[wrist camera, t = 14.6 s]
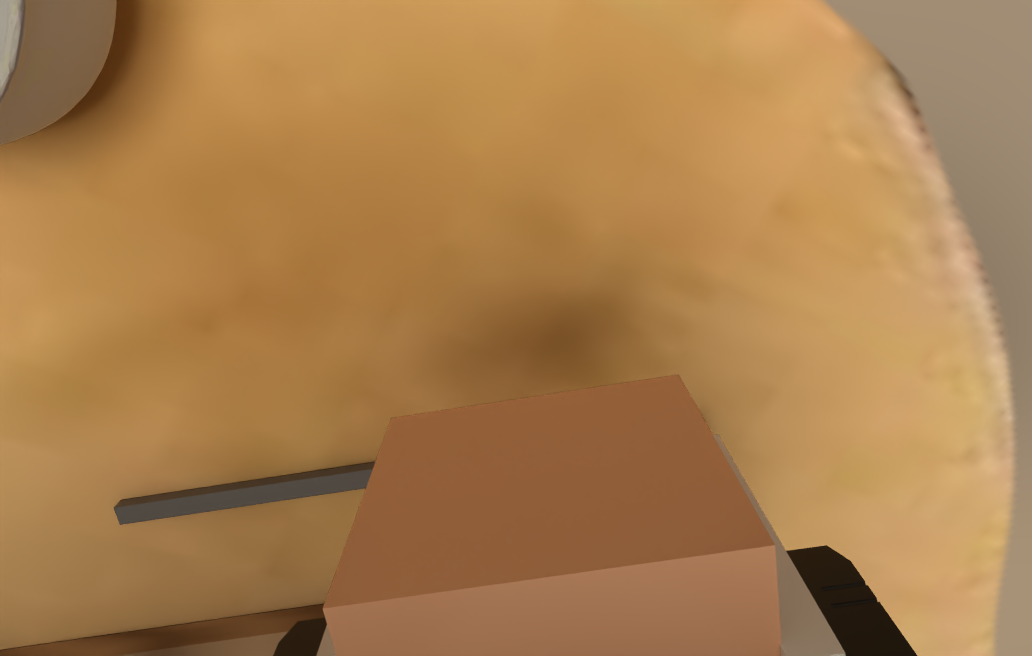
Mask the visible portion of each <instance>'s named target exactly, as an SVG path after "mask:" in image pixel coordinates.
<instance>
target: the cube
mask: <svg viewBox="0 0 1032 656" xmlns="http://www.w3.org/2000/svg"><path fill="white" fill-rule="evenodd" d="M323 612H324V615H325V619H326V622H327V626H328V629H329V633H330V636H331V639H332V643H333V646H334V650H335V653H336V656H781V651H780V644H782V641H781V626H780V611H779V595H778V580H777V565H776V549H775V544H774V542H773V540H772V539H771V537H770V535H769V533H768V532H767V530H766V528H765V526H764V524H763V523H762V521H761V519H760V517H759V516H758V514H757V512H756V510H755V509H754V507H753V505H752V503H751V502H750V500H749V498H748V496H747V494H746V493H745V491H744V489H743V487H742V486H741V484H740V482H739V480H738V479H737V477H736V475H735V473H734V472H733V470H732V468H731V466H730V464H729V463H728V461H727V459H726V457H725V456H724V454H723V452H722V450H721V449H720V447H719V445H718V443H717V442H716V440H715V438H714V436H713V434H712V433H711V431H710V429H709V427H708V426H707V424H706V422H705V420H704V419H703V417H702V415H701V413H700V412H699V410H698V408H697V406H696V404H695V403H694V401H693V399H692V397H691V396H690V394H689V392H688V390H687V389H686V387H685V385H684V383H683V382H682V380H681V378H680V376H679V375H672V376H666V377H659V378H652V379H646V380H639V381H632V382H626V383H619V384H613V385H606V386H599V387H593V388H586V389H580V390H573V391H566V392H560V393H553V394H547V395H540V396H533V397H527V398H520V399H513V400H507V401H500V402H494V403H487V404H480V405H474V406H467V407H461V408H454V409H447V410H441V411H434V412H427V413H421V414H414V415H408V416H401V417H394V418H391V420H390V423H389V426H388V428H387V431H386V434H385V437H384V439H383V442H382V445H381V448H380V451H379V453H378V456H377V459H376V462H375V464H374V467H373V470H372V473H371V476H370V478H369V481H368V484H367V487H366V489H365V492H364V495H363V498H362V501H361V503H360V506H359V509H358V512H357V514H356V517H355V520H354V523H353V526H352V528H351V531H350V534H349V537H348V540H347V542H346V545H345V548H344V551H343V553H342V556H341V559H340V562H339V565H338V567H337V570H336V573H335V576H334V578H333V581H332V584H331V587H330V590H329V592H328V595H327V598H326V601H325V603H324V606H323Z"/></svg>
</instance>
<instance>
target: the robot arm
mask: <svg viewBox="0 0 1032 656" xmlns="http://www.w3.org/2000/svg"><path fill="white" fill-rule="evenodd" d="M713 436H714V438H715V440H716V442H717V443H718V445H719V447H720V449H721V450H722V452H723V454H724V456H725V457H726V459H727V461H728V463H729V464H730V466H731V468H732V470H733V472H734V473H735V475H736V477H737V479H738V480H739V482H740V484H741V486H742V487H743V489H744V491H745V493H746V494H747V496H748V498H749V500H750V502H751V503H752V505H753V507H754V509H755V510H756V512H757V514H758V516H759V517H760V519H761V521H762V523H763V524H764V526H765V528H766V530H767V532H768V533H769V535H770V537H771V539H772V540H773V542H774V544H775V549H776V565H777V580H778V595H779V611H780V626H781V641H782V644H780V651H781V656H917V655H916V653H915V652H914V650H913V649H912V647H911V646H910V645H909V643H908V642H907V640H906V639H905V638H904V636H903V635H902V633H901V632H900V630H899V629H898V628H897V626H896V625H895V623H894V622H893V621H892V619H891V618H890V616H889V615H888V613H887V612H886V611H885V609H884V608H883V606H882V605H881V603H880V602H877V598H876V596H875V595H874V594H873V592H872V591H871V589H870V588H869V586H868V585H866V584H865V581H864V579H863V578H862V577H861V575H860V574H859V572H858V571H857V569H856V568H855V567H854V565H853V564H852V562H851V561H850V560H848V559H847V558H845V557H844V556H842V555H840V554H839V553H837V552H836V551H834V550H833V549H831V548H830V547H828V546H827V545H826V546H819V547H812V548H805V549H798V550H790V551H786V550H785V548H784V547H783V545H782V543H781V542H780V540H779V538H778V536H777V535H776V533H775V531H774V530H773V528H772V526H771V524H770V523H769V521H768V519H767V518H766V516H765V514H764V512H763V511H762V509H761V507H760V506H759V504H758V502H757V500H756V499H755V497H754V495H753V494H752V492H751V490H750V488H749V487H748V485H747V483H746V481H745V480H744V478H743V476H742V475H741V473H740V471H739V469H738V468H737V466H736V464H735V463H734V461H733V459H732V457H731V456H730V454H729V452H728V451H727V449H726V447H725V445H724V444H723V442H722V440H721V439H720V437H719V435H713ZM273 656H336V653H335V650H334V646H333V643H332V639H331V636H330V633H329V629H328V626H327V622H326V619H325V617H324V618H317V619H310V620H303V621H297V623H296V624H295V625H294V626H293V627H292V628H291V629H290V630H289V631H288V633H287V634H286V635H285V636H284V637H283V638H282V639H281V640H280V641H279V643H278V645H277V647H276V650H275V652H274V655H273Z"/></svg>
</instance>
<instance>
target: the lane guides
mask: <svg viewBox="0 0 1032 656" xmlns="http://www.w3.org/2000/svg"><path fill="white" fill-rule="evenodd" d="M374 464H375V462H371V463H365V464H358V465H351V466H345V467H338V468H331V469H325V470H318V471H312V472H305V473H298V474H292V475H285V476H278V477H272V478H265V479H258V480H252V481H245V482H238V483H232V484H225V485H218V486H212V487H205V488H198V489H192V490H185V491H179V492H172V493H165V494H159V495H152V496H145V497H139V498H132V499H125V500H121V501H120V502H119V503H118V504H117V505H116V506H115V507H114V510H115V513H116V515H117V518H118V521H119V524H120V525H122V524H128V523H135V522H142V521H149V520H155V519H162V518H169V517H175V516H182V515H189V514H196V513H202V512H209V511H216V510H222V509H229V508H236V507H243V506H249V505H256V504H263V503H269V502H276V501H283V500H290V499H296V498H303V497H310V496H316V495H323V494H330V493H336V492H343V491H350V490H357V489H363V488H366V487H367V484H368V481H369V478H370V476H371V473H372V470H373V467H374Z"/></svg>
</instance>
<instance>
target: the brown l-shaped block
mask: <svg viewBox="0 0 1032 656" xmlns="http://www.w3.org/2000/svg"><path fill="white" fill-rule="evenodd" d="M323 606H324V604H321V605H314V606H307V607H300V608H293V609H286V610H279V611H272V612H265V613H258V614H251V615H244V616H237V617H230V618H223V619H216V620H209V621H202V622H195V623H188V624H181V625H174V626H167V627H160V628H153V629H146V630H139V631H132V632H125V633H118V634H111V635H104V636H97V637H90V638H83V639H76V640H69V641H62V642H55V643H48V644H41V645H34V646H27V647H20V648H13V649H6V650H0V656H273V655H274V652H275V650H276V647H277V645H278V643H279V641H280V640H281V639H282V638H283V637H284V636H285V635H286V634H287V633H288V631H289V630H290V629H291V628H292V627H293V626H294V625H295V624H296V623H297V621H303V620H310V619H317V618H324V617H325V615H324V612H323Z"/></svg>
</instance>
